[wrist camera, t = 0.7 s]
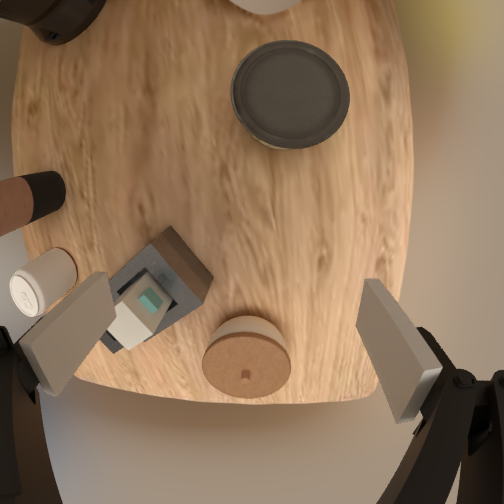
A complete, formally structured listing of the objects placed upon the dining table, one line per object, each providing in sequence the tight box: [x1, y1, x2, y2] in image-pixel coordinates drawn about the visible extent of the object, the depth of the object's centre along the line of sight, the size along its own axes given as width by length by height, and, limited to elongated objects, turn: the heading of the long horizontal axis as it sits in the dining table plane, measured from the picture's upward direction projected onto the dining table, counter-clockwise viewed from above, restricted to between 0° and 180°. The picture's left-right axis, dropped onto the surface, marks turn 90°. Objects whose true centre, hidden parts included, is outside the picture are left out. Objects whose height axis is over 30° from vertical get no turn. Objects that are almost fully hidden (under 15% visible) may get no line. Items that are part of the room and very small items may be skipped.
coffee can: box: [230, 40, 350, 150], centre depth 27 cm, size 10×10×14 cm
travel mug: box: [0, 171, 66, 236], centre depth 29 cm, size 8×8×20 cm
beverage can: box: [10, 248, 77, 317], centre depth 38 cm, size 8×8×12 cm
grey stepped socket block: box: [100, 226, 213, 354], centre depth 40 cm, size 10×24×8 cm, turn 127°
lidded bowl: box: [202, 316, 291, 399], centre depth 41 cm, size 13×13×11 cm
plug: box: [107, 269, 173, 350], centre depth 34 cm, size 5×6×11 cm
